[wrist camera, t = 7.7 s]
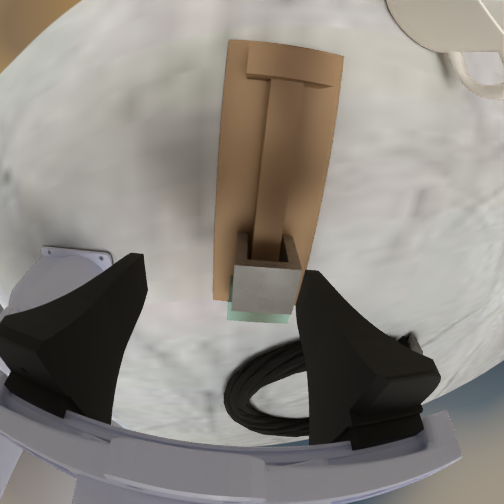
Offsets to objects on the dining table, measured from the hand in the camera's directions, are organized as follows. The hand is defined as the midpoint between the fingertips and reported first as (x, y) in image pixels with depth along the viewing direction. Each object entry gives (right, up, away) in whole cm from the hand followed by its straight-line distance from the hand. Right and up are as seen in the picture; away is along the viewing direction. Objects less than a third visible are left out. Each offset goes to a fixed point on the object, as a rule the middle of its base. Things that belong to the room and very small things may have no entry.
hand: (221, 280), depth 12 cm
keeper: (+2, +1, +11) cm, 12 cm away
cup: (+16, +20, +1) cm, 26 cm away
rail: (+3, +6, +8) cm, 11 cm away
